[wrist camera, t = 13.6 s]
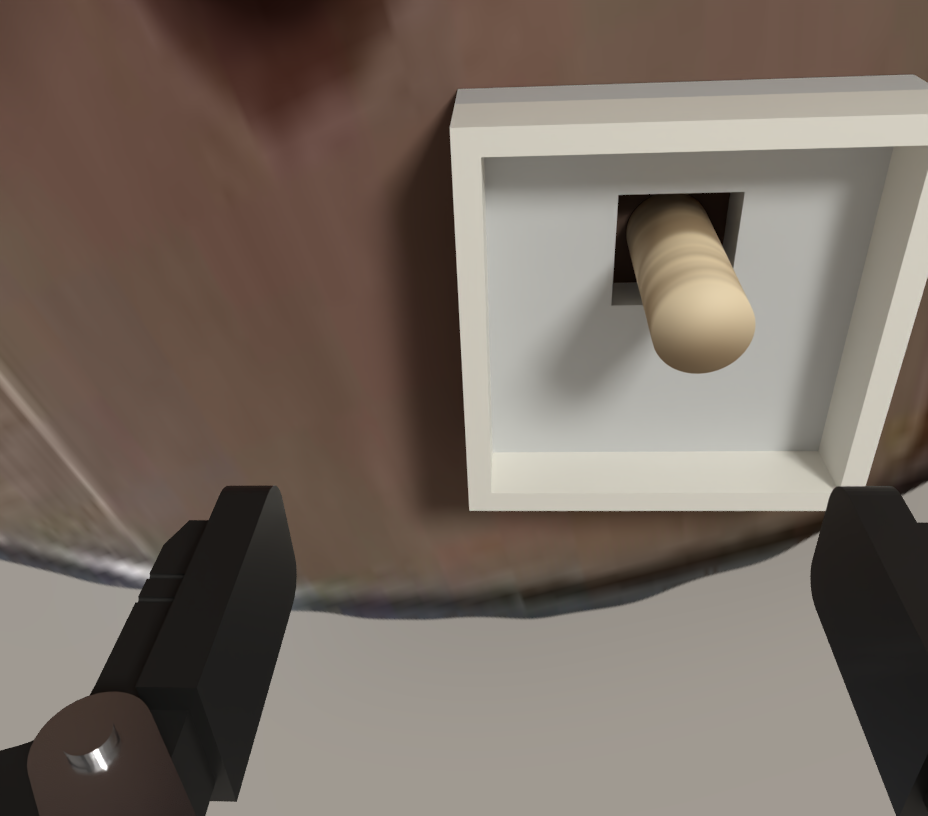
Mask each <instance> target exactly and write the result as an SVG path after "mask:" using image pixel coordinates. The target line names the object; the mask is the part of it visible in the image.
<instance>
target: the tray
mask: <svg viewBox="0 0 928 816" xmlns="http://www.w3.org/2000/svg"><path fill="white" fill-rule="evenodd" d="M450 145H451V164H452V184H453V203H454V223H455V242H456V261H457V281H458V300H459V320H460V339H461V359H462V378H463V397H464V417H465V436H466V456H467V475H468V494H469V511H826V508H827V504H828V500H829V497H830V494H831V492H832V490H833V489H834V488H835V487H838V486H866V482H867V479H868V476H869V472H870V469H871V466H872V462H873V459H874V455H875V452H876V449H877V445H878V442H879V439H880V435H881V432H882V428H883V425H884V422H885V418H886V415H887V412H888V408H889V405H890V401H891V398H892V395H893V391H894V388H895V385H896V381H897V378H898V375H899V371H900V368H901V364H902V361H903V358H904V354H905V351H906V348H907V344H908V341H909V337H910V334H911V331H912V327H913V324H914V321H915V317H916V314H917V310H918V307H919V304H920V300H921V297H922V294H923V290H924V287H925V283H926V280H927V277H928V83H927V82H925V81H924V80H922V79H920V78H919V77H917V76H915V75H883V76H852V77H821V78H789V79H758V80H727V81H696V82H665V83H634V84H602V85H571V86H540V87H509V88H478V89H458V91H457V95H456V100H455V105H454V110H453V114H452V119H451V124H450ZM718 192H730V197H729V204H728V211H727V218H726V225H725V232H724V239H723V248H724V251H725V253H726V255H727V257H728V259H729V261H730V263H731V265H732V267H733V269H734V271H735V274H736V276H737V278H738V280H739V282H740V284H741V286H742V288H743V290H744V292H745V294H746V297H747V299H748V301H749V303H750V305H751V307H752V309H753V312H754V315H755V323H756V325H755V332H754V336H753V339H752V341H751V343H750V345H749V347H748V348H747V349H746V351H745V352H744V353H743V354H742V355H741V356H740V357H739V358H738V359H737V360H736V361H734V362H733V363H731V364H730V365H728V366H726V367H724V368H722V369H720V370H717V371H713V372H709V373H702V374H691V373H685V372H681V371H678V370H676V369H673V368H672V367H670V366H668V365H667V364H666V363H664V362H663V361H662V360H661V359H660V357H659V356H658V355H657V353H656V351H655V349H654V346H653V343H652V339H651V335H650V331H649V327H648V323H647V319H646V315H645V311H644V307H643V303H642V299H641V295H640V291H639V287H638V284H637V282H632V283H613V272H614V256H615V241H616V225H617V209H618V195H634V194H676V193H718Z"/></svg>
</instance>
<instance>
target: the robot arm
mask: <svg viewBox="0 0 928 816" xmlns="http://www.w3.org/2000/svg"><path fill="white" fill-rule="evenodd" d="M295 590H296V561H295V555H294V551H293V546H292V542H291V537H290V532H289V528H288V523H287V518H286V514H285V509H284V505H283V500H282V496H281V493H280V490H279V488H278V487H277V486H226V487H225V488H224V489H223V490H222V492H221V493H220V496H219V498H218V500H217V502H216V505H215V507H214V509H213V511H212V514H211V516H210V518H209V520H189V521H188V522H187V523H186V524H185V525H184V526H183V527H182V528H181V529H180V530H179V531H178V532H177V533H176V534H175V535H174V536H173V537H172V538H171V539H169V540H168V541H167V542H166V543H165V544H164V545H163V547H162V549H161V551H160V553H159V556H158V558H157V560H156V562H155V564H154V566H153V568H152V570H151V572H150V579H147V580H146V582H145V584H144V586H143V588H142V590H141V592H140V594H139V601H138V603H135V605H134V607H133V609H132V611H131V613H130V615H129V617H128V619H127V621H126V623H125V625H124V627H123V629H122V631H121V633H120V636H119V638H118V640H117V642H116V644H115V646H114V648H113V650H112V652H111V654H110V656H109V658H108V660H107V662H106V664H105V666H104V668H103V670H102V672H101V674H100V677H99V679H98V681H97V683H96V685H95V687H94V689H93V690H92V692H91V694H90V696H87V697H85V698H82V699H80V700H77V701H75V702H74V703H72V704H70V705H68V706H66V707H65V708H64V709H62V710H61V711H60V712H58V713H57V714H56V715H55V716H54V717H52V718H51V719H50V720H49V721H48V722H47V723H46V724H45V725H44V727H43V728H42V729H41V730H40V732H39V733H38V735H37V736H36V738H35V739H34V740H33V741H31V742H28V743H25V744H22V745H19V746H16V747H12V748H8V749H5V750H1V751H0V816H205V814H206V811H207V808H208V805H209V801H234V802H237V799H238V795H239V792H240V788H241V785H242V781H243V778H244V774H245V771H246V767H247V764H248V760H249V756H250V753H251V749H252V745H253V742H254V739H255V735H256V732H257V728H258V725H259V721H260V718H261V714H262V711H263V707H264V704H265V700H266V697H267V693H268V690H269V686H270V682H271V679H272V675H273V672H274V668H275V665H276V661H277V658H278V654H279V651H280V647H281V644H282V640H283V637H284V633H285V630H286V626H287V623H288V619H289V616H290V612H291V609H292V605H293V601H294V597H295ZM811 591H812V597H813V601H814V605H815V608H816V611H817V613H818V616H819V618H820V621H821V624H822V626H823V629H824V631H825V634H826V636H827V639H828V642H829V644H830V647H831V649H832V652H833V654H834V657H835V659H836V662H837V665H838V667H839V670H840V672H841V675H842V677H843V680H844V683H845V685H846V688H847V690H848V693H849V695H850V698H851V701H852V703H853V706H854V708H855V711H856V713H857V716H858V718H859V721H860V724H861V726H862V729H863V731H864V734H865V736H866V739H867V741H868V744H869V747H870V749H871V752H872V755H873V757H874V760H875V762H876V765H877V767H878V770H879V773H880V775H881V778H882V780H883V783H884V785H885V788H886V790H887V793H888V796H889V798H890V801H891V803H892V806H893V809H894V811H895V813H896V816H928V523H917V522H916V520H915V519H914V517H913V515H912V513H911V511H910V510H909V508H908V506H907V505H906V503H905V501H904V499H903V498H902V496H901V494H900V493H899V491H898V490H897V489H896V488H894V487H891V486H838V487H835V488H834V489H833V490H832V492H831V494H830V497H829V500H828V504H827V508H826V511H825V515H824V519H823V523H822V526H821V530H820V534H819V538H818V541H817V545H816V549H815V553H814V556H813V560H812V565H811Z"/></svg>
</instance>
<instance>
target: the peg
mask: <svg viewBox="0 0 928 816" xmlns="http://www.w3.org/2000/svg"><path fill="white" fill-rule="evenodd" d="M626 239H627V244H628V248H629V252H630V256H631V260H632V264H633V268H634V272H635V276H636V280H637V284H638V287H639V291H640V295H641V299H642V303H643V307H644V311H645V315H646V319H647V323H648V327H649V331H650V335H651V339H652V343H653V346H654V349H655V351H656V353H657V355H658V356H659V357H660V359H661V360H662V361H663V362H664V363H666V364H667V365H668V366H670V367H672V368H673V369H676V370H678V371H681V372H685V373H691V374H702V373H709V372H713V371H717V370H720V369H722V368H724V367H726V366H728V365H730V364H731V363H733V362H734V361H736V360H737V359H738V358H739V357H740V356H741V355H742V354H743V353H744V352H745V351H746V349H747V348H748V347H749V345H750V343H751V341H752V339H753V336H754V332H755V325H756V323H755V315H754V312H753V309H752V307H751V305H750V303H749V301H748V299H747V297H746V294H745V292H744V290H743V288H742V286H741V284H740V282H739V280H738V278H737V276H736V274H735V271H734V269H733V267H732V265H731V263H730V261H729V259H728V257H727V255H726V253H725V251H724V248H723V246H722V244H721V242H720V240H719V238H718V236H717V234H716V232H715V230H714V228H713V226H712V223H711V221H710V219H709V217H708V215H707V213H706V211H705V209H704V208H703V206H702V205H701V204H700V202H698V201H697V200H696V199H695V198H693V197H692V196H690V195H687V194H684V193H676V194H656V195H654V196H651V197H649V198H648V199H646V200H645V201H643V202H642V203H641V204H640V205H639V206H638V207H637V208H636V209H635V210H634V212H633V213H632V215H631V217H630V219H629V221H628V224H627V229H626Z"/></svg>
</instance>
